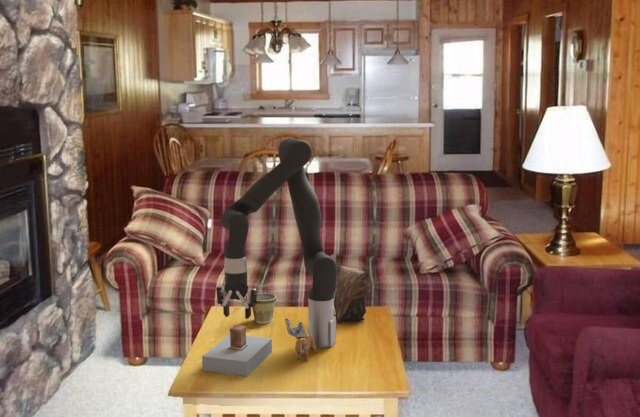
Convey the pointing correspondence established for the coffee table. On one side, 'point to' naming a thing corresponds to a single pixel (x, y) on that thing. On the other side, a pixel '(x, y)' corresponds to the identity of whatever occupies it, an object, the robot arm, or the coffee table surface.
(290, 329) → the driftwood
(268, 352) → the grey rectangular block
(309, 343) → the lion figurine
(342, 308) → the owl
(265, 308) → the ceramic cup
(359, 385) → the coffee table surface
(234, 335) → the walnut peg
